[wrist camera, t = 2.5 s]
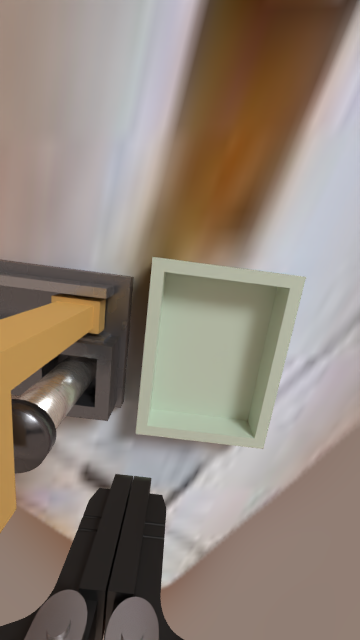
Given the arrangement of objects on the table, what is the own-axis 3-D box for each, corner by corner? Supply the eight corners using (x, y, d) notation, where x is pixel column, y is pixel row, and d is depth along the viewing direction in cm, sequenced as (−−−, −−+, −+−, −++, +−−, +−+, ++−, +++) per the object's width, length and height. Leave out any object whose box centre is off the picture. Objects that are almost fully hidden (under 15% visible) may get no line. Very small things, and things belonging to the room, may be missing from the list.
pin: (60, 343, 23) (-32, 405, 13) (105, 348, 23) (46, 414, 13) (60, 383, 24) (-26, 468, 14) (102, 388, 24) (47, 477, 14)
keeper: (60, 293, 21) (-238, 371, 6) (105, 299, 21) (-81, 390, 6) (59, 386, 23) (-162, 613, 8) (100, 391, 24) (-46, 624, 8)
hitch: (-30, 255, 22) (-76, 254, 18) (133, 276, 22) (123, 280, 18) (-20, 383, 25) (-57, 406, 21) (123, 401, 25) (112, 426, 22)
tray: (157, 257, 22) (152, 257, 19) (287, 274, 22) (305, 277, 19) (141, 411, 26) (135, 433, 22) (252, 424, 26) (263, 448, 23)
